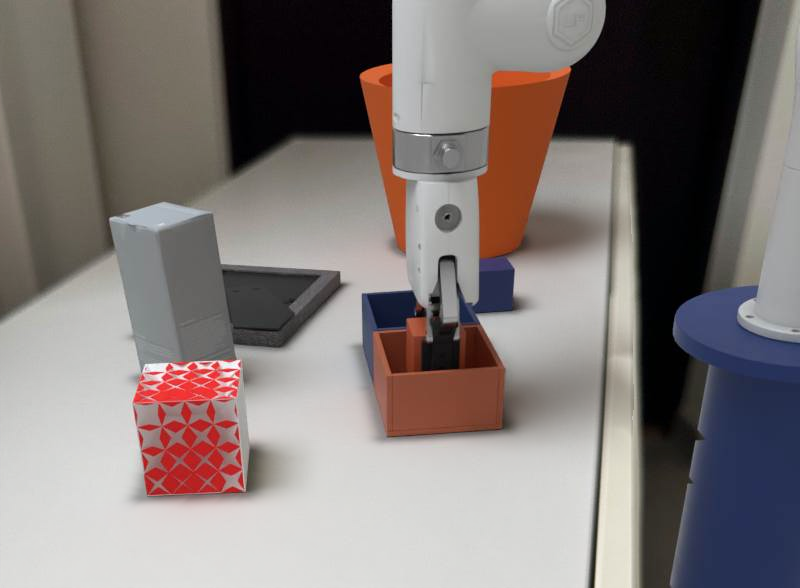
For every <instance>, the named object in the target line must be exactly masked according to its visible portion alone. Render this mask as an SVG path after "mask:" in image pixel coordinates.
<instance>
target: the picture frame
mask: <svg viewBox="0 0 800 588" xmlns="http://www.w3.org/2000/svg"><path fill="white" fill-rule="evenodd" d="M221 268H222V274H223V281H224V287H225V293H226V299H227V306H228V312H229V318H230V324H231V331H232V337H233V343H234V345H235V344H236V345H245V346H246V345H247V346H258V347H272V348H280V347H281V346H282V345H283V344H284V343H285V342H286V341H287V340H288V339H289V338H290V337H291V336H292V335H293V334H294V333H295V332H296V331H297V330H298V329H299V328H300V327H301V326H302V325H303V324H304V323H305V322H306V321H307V320H308V318H309V317H311V316H312V314H314V312H316V310H317V309H319V307H320V306H321V305H322V304H323V303H325V301H326V300H327V299H328V298H329V297H330V296H331V295H332V294H333V293H334V292H335V291H336V290H337V289H338V288H339V287H340V286H341V285H342V282H341V280H342V279H341V271H340V270H328V269H314V268H313V269H311V268H297V267H296V268H293V267H281V266H280V267H278V266H261V265H244V264H225V263H221Z"/></svg>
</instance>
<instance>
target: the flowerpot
mask: <svg viewBox="0 0 800 588" xmlns="http://www.w3.org/2000/svg"><path fill="white" fill-rule="evenodd" d="M571 71H572V68H571V66H569V67H567V68H564V69H561V70H558V71H554V72H547V73H535V72H521V71H497V72H495V73H493V74H492V87H491V107H490V124H489V125H490V128H489V149H488V167H487V171H486V173H484V174H482V175H480V176H477V184H478V199H479V259H483V258H497V257H499V256H500V257H501V256H503V255H506V254H509V253H512V252H513V251H515V250H517V249H518V248H520V246H521V244H522V241H523V238H524V234H525V231H526V227H527V223H528V221H529V217H530V214H531V211H532V206H533V202H534V200H535V196H536V192H537V189H538V186H539V182H540V179H541V175H542V172H543V168H544V165H545V162H546V158H547V155H548V151H549V148H550V145H551V141H552V137H553V134H554V130H555V126H556V123H557V119H558V116H559V112H560V110H561V107H562V102H563V99H564V96H565V92H566V88H567V86H568V82H569V78H570V76H571V75H570V74H571ZM359 80H360V85H361V89H362V94H363V98H364V102H365V107H366V111H367V116H368V121H369V126H370V129H371V134H372V139H373V143H374V147H375V152H376V157H377V160H378V165H379V170H380V175H381V179H382V183H383V184H382V185H383V188H384V193H385V197H386V202H387V206H388V210H389V214H390V219H391V224H392V228H393V232H394V237H395V241H396V245H397V247H398V249H399V250H401V251H402V252H404V253H405V254H406V179H404V178H400V177H399V176H396V175H394V174H393V164H392V128H393V126H392V63H388V64H383V65H382V64H381V65H379V66H375V67H372V68H369V69H366V70H365V71H363V72H361V73H360V74H359Z"/></svg>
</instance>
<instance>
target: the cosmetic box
mask: <svg viewBox="0 0 800 588" xmlns="http://www.w3.org/2000/svg"><path fill="white" fill-rule="evenodd" d="M108 221H109V222H108V223H109V227H110V231H111V236H112V241H113V245H114V249H115V254H116V259H117V264H118V269H119V274H120V277H121V282H122V287H123V291H124V297H125V302H126V307H127V311H128V315H129V321H130V326H131V330H132V335H133V340H134V344H135V345H134V346H135V350H136V355H137V358H138V359H137V360H138V363H139V369H140V373H141V375H142V372H143V369H144V366H145V364H157V363H177V362H199V361H220V360H237V356H236V350H235V344H234V343H233V337H232V331H231V324H230V318H229V312H228V306H227V299H226V293H225V287H224V281H223V274H222V268H221V264H222V263H221V256H220V250H219V244H218V239H217V238H218V237H217V231H216V224H215V218H214V212H212V211H207V210H202V209H199V208H193V207H188V206H184V205H180V204H175V203H170V202H167V201H162V202H159V203H154V204H152V205H151V204H150V205H149V206H145V207H142V208H138V209H135V210H132V211H128V212H124V213H121V214H118V215H115V216H111V217H109V218H108Z"/></svg>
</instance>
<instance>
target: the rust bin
mask: <svg viewBox="0 0 800 588" xmlns="http://www.w3.org/2000/svg"><path fill="white" fill-rule="evenodd" d="M462 327H463V328H464V330H465V332H466V343H465V367H464V369H455V370H440V371H425V372H410V373H408V371H407V368H406V329H403V330H388V331H379V332H378V331H373V367H374V387H373V391H374V394H375V398H376V401H377V405H378V408H379V412H380V417H381V420H382V423H383V427H384V431H385V435H386V437H387V438H389V437H401V436H402V437H403V436H416V435H417V436H419V435H430V434H432V435H433V434H434V435H435V434H446V433H447V434H448V433H461V432H476V431H490V430H491V431H492V430H502V429H503V428H502V427H503V416H504V415H503V413H504V396H505V382H506V366H505V365H504V363H503V362H502V359H501V358H500V356H499V354H498V352H497V350H496V349H495V347H494V345H493V343H492V341H491V339H490V338H489V336H488V334H487V332H486V331H485V328H484V327H483V325H482V323H481V324H479V325H464V326H462Z"/></svg>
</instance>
